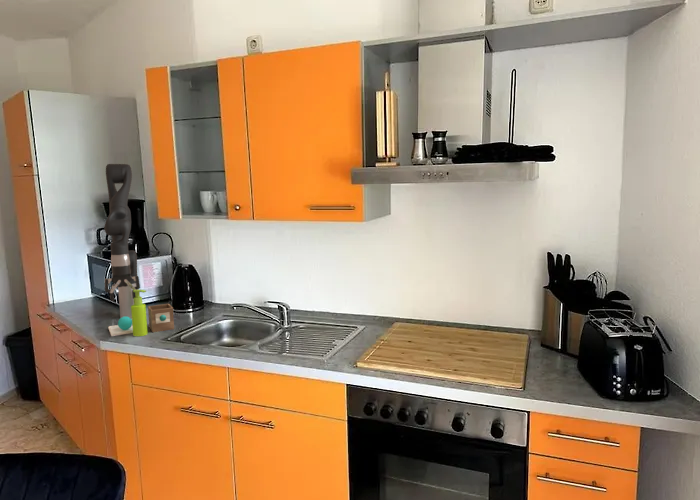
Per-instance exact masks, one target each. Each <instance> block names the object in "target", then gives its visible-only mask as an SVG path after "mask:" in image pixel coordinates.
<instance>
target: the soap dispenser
mask: <svg viewBox="0 0 700 500" xmlns="http://www.w3.org/2000/svg"><path fill="white" fill-rule="evenodd" d="M133 292H135V295H136V297H134V305H132V306H131V313H132V318H131V320H132V326H133V333H132V336H133V337H143V336H147V335H148V318H147V308H146V307H147V306H146V304H145V303H143V297H142V296H141V295H140V293H144V294H145V293H146V292H147V290H145V289H139V290H134V291H133Z"/></svg>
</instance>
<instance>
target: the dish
mask: <svg viewBox="0 0 700 500" xmlns="http://www.w3.org/2000/svg"><path fill="white" fill-rule="evenodd" d="M108 330H109V331H108V332H109V334H110V336H111V337H114V336H122V335H129V334H133V326H131V327H130V328H129V329H127V330H122V329H120V328H119V326H118V324H117V325H116V324H115V325H109V326H108Z"/></svg>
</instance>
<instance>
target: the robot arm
mask: <svg viewBox="0 0 700 500" xmlns="http://www.w3.org/2000/svg"><path fill="white" fill-rule="evenodd" d="M105 177H106V180H105V181H106V186H107V191H108V203H109V205H108V206H109V207H108V208H109V215H108V217H107V219H106V220H105V223H104V228H103V229H104V233H105V234H106V235H108V237H109V236H110V237H111V241H112V242H110V254H111V257H110V264H111V265H110V266H111V276H112V277H111V278H104V291H105V292H104V293H107V294H108V293H109V299H110V301H112V302H115V297H114V296H115V294H114V293H115V292H114V291H115V290H116V289H118V290H117V291H118V302H119V303H118V304H119V316H120V318H122V317H124V316H126V317H129V318H131V319H132V313H131V306H132V305H134V297H136V295H135V292H133V291H134V290H141V289H140V288H141V284H140V279H139V276H138V255H137V252H136V251H135V250H133V249H132V250H131V249H130V250H129V237H130V233H131V230H132V214H131V213H132V212H131V209H130V208H129V206H128V202H129V201H128V200H129V196H130V191H131V186H132V185H131V184H132V179H133V170H132V168H131V165H130V164H128V163H107V165H106V166H105ZM116 184H118V185H119V184H122V185H121V186H120V188H119V189H118V191H117V187H116ZM111 282H112V283H113V284H112V286H111V288H110V289H109V284H111ZM120 318H119V319H120Z"/></svg>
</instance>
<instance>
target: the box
mask: <svg viewBox="0 0 700 500" xmlns="http://www.w3.org/2000/svg"><path fill="white" fill-rule="evenodd" d="M147 311H148V328H149V329H150V331H151V332H152V333H158V332H159V333H160V332H164V331H165V332H166V331H171V330H174V329H175V322H174V321H175V318H174V307H173V306H172V305H171V304H170V303H164V304H163V303H162V304H156V305H148V306H147Z"/></svg>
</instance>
